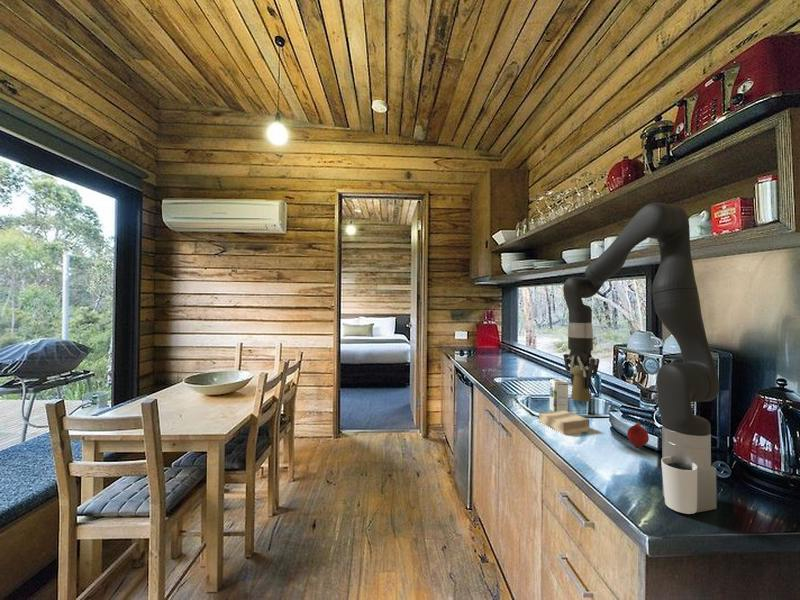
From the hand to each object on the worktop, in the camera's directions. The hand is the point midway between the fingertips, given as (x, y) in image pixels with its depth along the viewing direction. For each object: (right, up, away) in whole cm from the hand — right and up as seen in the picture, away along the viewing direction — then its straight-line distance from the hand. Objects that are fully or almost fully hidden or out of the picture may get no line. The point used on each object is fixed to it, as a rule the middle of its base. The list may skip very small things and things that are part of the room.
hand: (580, 386), depth 118 cm
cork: (0, -4, 0) cm, 4 cm away
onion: (+17, -19, -4) cm, 26 cm away
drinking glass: (+4, -19, -37) cm, 42 cm away
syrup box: (+6, -20, +30) cm, 37 cm away
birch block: (0, -19, +13) cm, 24 cm away
